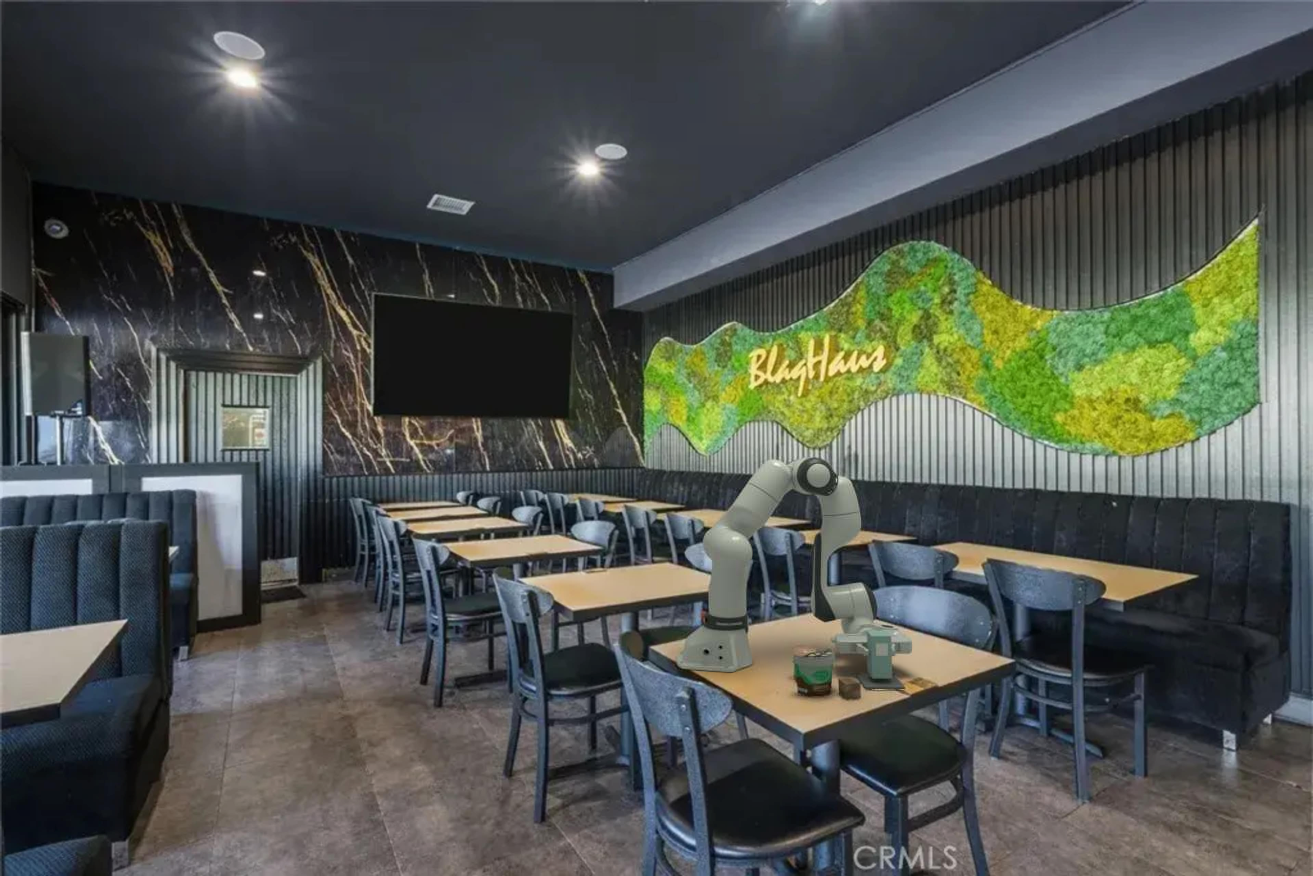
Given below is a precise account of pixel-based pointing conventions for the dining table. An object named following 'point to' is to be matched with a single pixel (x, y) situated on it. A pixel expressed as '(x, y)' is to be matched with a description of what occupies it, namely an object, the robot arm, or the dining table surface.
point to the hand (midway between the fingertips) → (880, 653)
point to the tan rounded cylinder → (802, 653)
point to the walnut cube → (849, 688)
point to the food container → (814, 673)
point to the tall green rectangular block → (879, 654)
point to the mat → (879, 682)
